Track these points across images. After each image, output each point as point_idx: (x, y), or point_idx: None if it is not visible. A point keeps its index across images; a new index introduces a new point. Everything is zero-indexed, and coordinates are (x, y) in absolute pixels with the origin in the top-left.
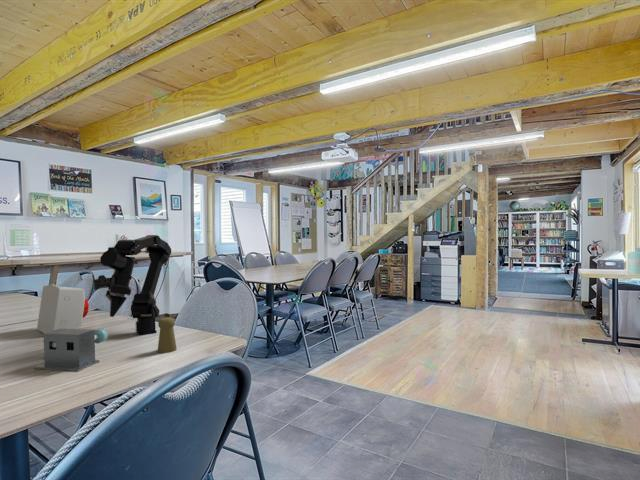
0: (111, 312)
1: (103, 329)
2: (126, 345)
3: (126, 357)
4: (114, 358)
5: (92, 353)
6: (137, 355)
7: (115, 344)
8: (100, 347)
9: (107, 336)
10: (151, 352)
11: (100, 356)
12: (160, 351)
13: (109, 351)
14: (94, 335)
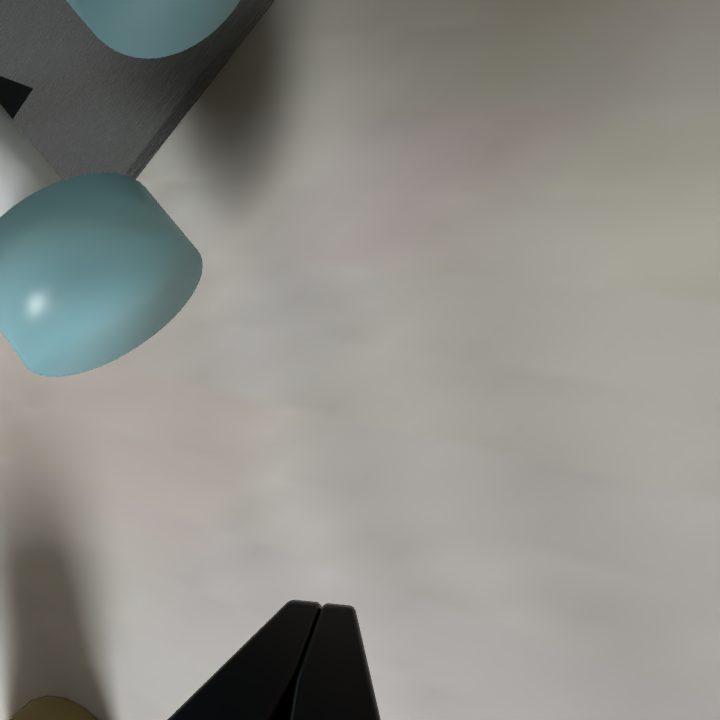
0: (231, 685)
1: (12, 335)
2: (461, 593)
3: (67, 464)
4: (94, 380)
5: None
6: (68, 547)
7: (611, 514)
8: (592, 337)
9: (81, 372)
10: (80, 659)
11: (219, 288)
12: (24, 708)
13: (337, 389)
14: (2, 208)
